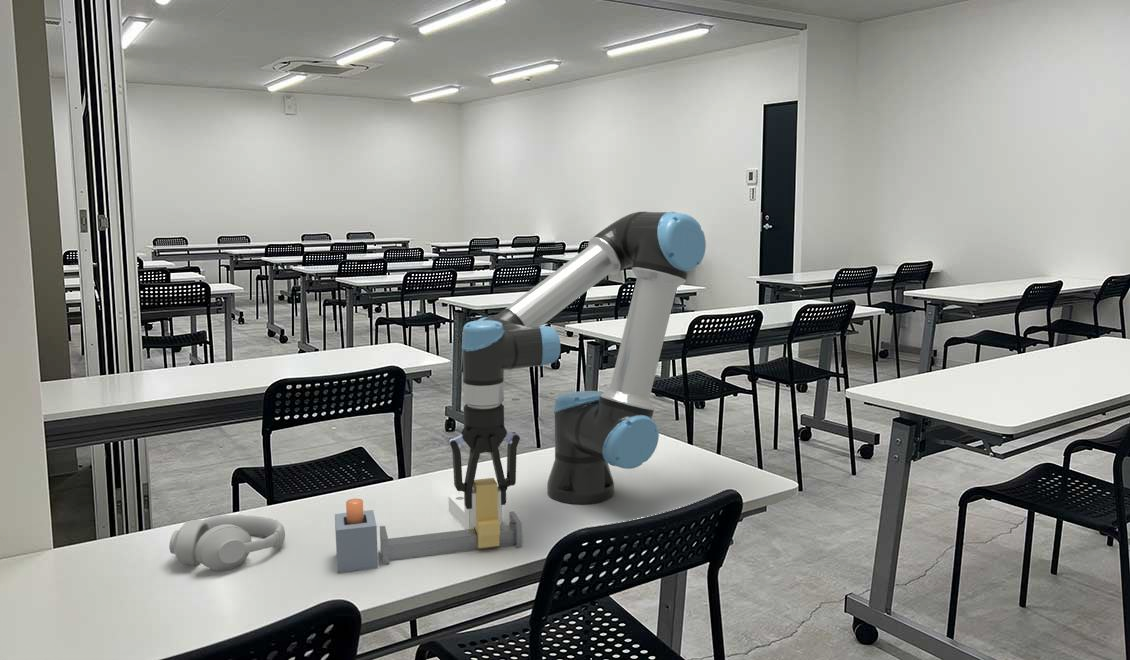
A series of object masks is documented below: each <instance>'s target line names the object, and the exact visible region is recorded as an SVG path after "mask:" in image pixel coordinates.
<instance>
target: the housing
mask: <svg viewBox="0 0 1130 660" xmlns="http://www.w3.org/2000/svg"><path fill="white" fill-rule="evenodd" d="M363 514H364V523H360V524H351V525H347V514H346V512H342V513H340V512H339V513H335V514H334V524H335V525H334V527H335V543H336V544H335V545H336V546H335V547H336V548H335V549H336V562H337V563H336V565H337V572H338V574H340V573H341V574H342V573H346V572H355V571H356V572H357V571H363V570H372V569H379V556H378V555H379V553H378V527H377V525H378V524H377V521H376V518H375V517H376V516H375V511H374V509H370V510H369V509H368V510H363Z"/></svg>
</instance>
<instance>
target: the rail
mask: <svg viewBox="0 0 1130 660" xmlns="http://www.w3.org/2000/svg"><path fill="white" fill-rule="evenodd" d="M508 512H509V513H508V514H509V515H508V516H509V520H508V521H509V523H508V524H503V525H502V524H500V535H499V546H493V547H485V548H478V539H477V532H476V530H475V529H459V530H451V531H443V532H433V533H425V534H424V533H423V534H416V535H409V536H408V535H407V536H402V537H392V538H388V533H387V528H386V526H385V525H382V526H381V525H380V526H379V544H380V545H379V546H380V554H381V560H382V564H383V565H382V566H385V565H389V564H390V561H397V560H405V559H406V560H407V559H411V558H422V557H427V556H436V555H438V556H439V555H444V554H454V553H459V552H468V551H476V550H477V551H478V550H484V549H493V548H502V547H508V546H515V548H516V549H519V548H522V547H523V543H522V542H523V532H522V531H523V529H522V525H523V523H522V521H521V519H520V518H519V516H518V515H517V513H516V512H515V511H514V510H513V511H512V510H511V511H508Z"/></svg>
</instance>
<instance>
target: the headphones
mask: <svg viewBox="0 0 1130 660" xmlns="http://www.w3.org/2000/svg"><path fill="white" fill-rule="evenodd" d="M285 531H286V530H285V527H284V525H283V524H282V522H280V521H279V520H277V519H273V518H270V517H265V516H259V515H258V516H257V515H247V514H246V515H244V514H221V515H220V514H219V515H215V516H211V517H207V518H205V519H191V520H187V521H185V522H184V523H183V524H182V526H181V527H180V529H179V530H175V531H174V532H172V534H171V536H170V540H169V545H168V546H169V552H170V553H171V554H172V555H175V559H176V560H177V562H178V564H180V565H184V566H198V565H200V564H201V565H203V566H205V567H206V568H208V569H210V570H213V571H218V572H220V571H221V572H222V571H228V570H231V569H234V568H236V567H238V566H240V565H241V564H242V563H243V562H244V561H245V560H246V559H248V556H249V555H250V553H253V552H257V551H262V550H264V549H265V550H266V549H270V548H275V549H280V548H281V547H282V546H283V545H284V543H285V539H286V532H285ZM253 536H254V537H262V538H263V539H259V540H253V541H252V537H253ZM264 537H265V538H264Z"/></svg>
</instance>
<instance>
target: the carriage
mask: <svg viewBox="0 0 1130 660" xmlns="http://www.w3.org/2000/svg"><path fill="white" fill-rule="evenodd" d="M497 486H498V483H497V480H495V478H494V477H490V478H480V479H479V478H477V479H474V484H473V489H474V490H475V492H476V508H477V526H475V527H473V529H475V530H476V532H477V539H478V548H485V547H493V546H499V535H500V525H501V524H500V522H499V520H498V487H497Z"/></svg>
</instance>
